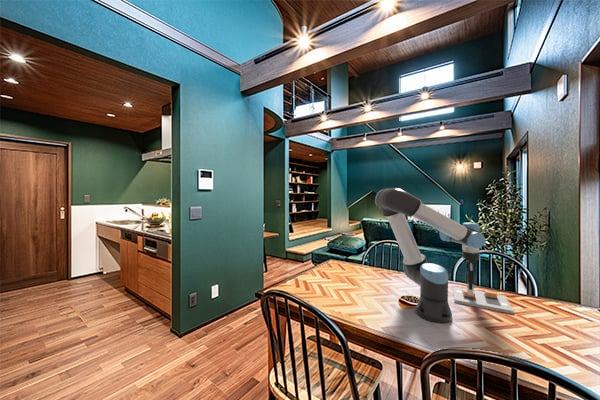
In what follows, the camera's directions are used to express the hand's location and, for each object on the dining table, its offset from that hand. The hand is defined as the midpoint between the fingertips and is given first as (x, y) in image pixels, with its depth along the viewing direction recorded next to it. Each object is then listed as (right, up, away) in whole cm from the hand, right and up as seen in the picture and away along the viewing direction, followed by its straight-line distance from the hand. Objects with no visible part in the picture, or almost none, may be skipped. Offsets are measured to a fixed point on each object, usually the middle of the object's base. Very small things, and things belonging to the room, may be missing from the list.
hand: (470, 294), depth 130 cm
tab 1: (+1, -2, +2) cm, 3 cm away
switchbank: (+6, -3, +1) cm, 7 cm away
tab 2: (+12, -2, +1) cm, 12 cm away
